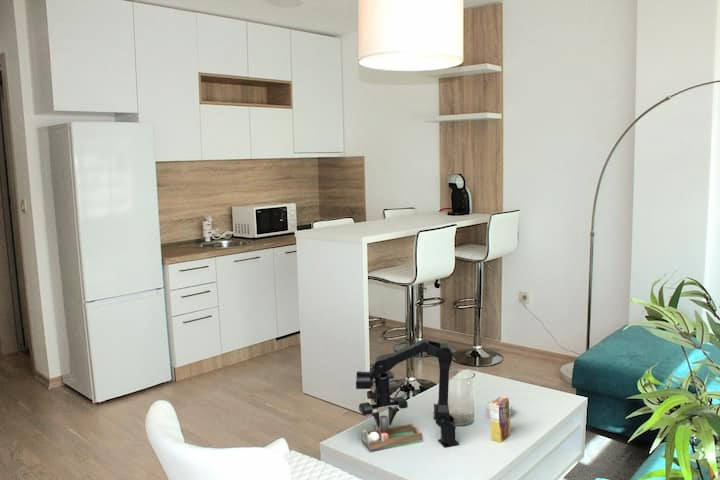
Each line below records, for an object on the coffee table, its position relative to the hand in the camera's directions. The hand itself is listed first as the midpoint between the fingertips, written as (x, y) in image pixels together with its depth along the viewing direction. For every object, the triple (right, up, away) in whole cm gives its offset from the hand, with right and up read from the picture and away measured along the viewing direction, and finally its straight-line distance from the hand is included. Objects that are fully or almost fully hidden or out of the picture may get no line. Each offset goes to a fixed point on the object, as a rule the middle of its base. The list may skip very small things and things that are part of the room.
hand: (384, 426), depth 240 cm
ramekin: (+50, -2, +21) cm, 55 cm away
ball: (-4, -4, -1) cm, 6 cm away
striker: (0, -6, +1) cm, 6 cm away
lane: (+3, -7, +2) cm, 8 cm away
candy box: (+47, -5, +1) cm, 47 cm away
